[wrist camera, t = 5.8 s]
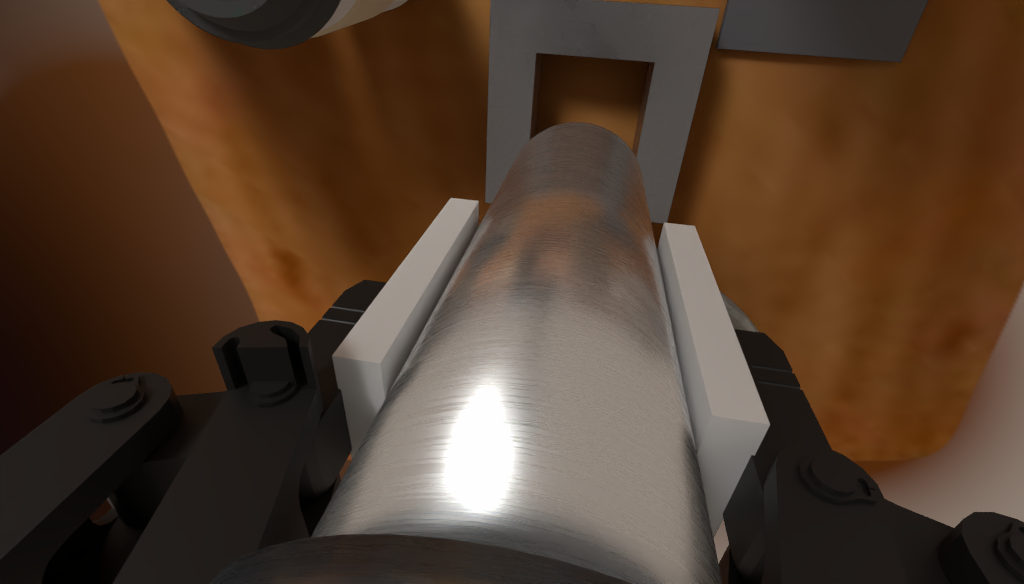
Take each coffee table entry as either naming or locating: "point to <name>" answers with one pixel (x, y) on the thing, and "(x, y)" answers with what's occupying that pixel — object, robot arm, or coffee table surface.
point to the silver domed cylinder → (529, 407)
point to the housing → (601, 34)
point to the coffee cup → (278, 18)
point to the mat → (822, 27)
